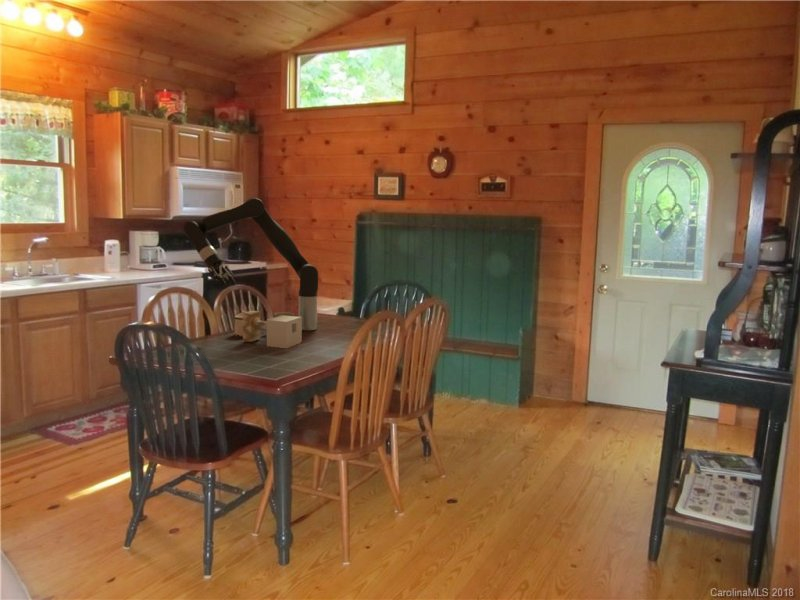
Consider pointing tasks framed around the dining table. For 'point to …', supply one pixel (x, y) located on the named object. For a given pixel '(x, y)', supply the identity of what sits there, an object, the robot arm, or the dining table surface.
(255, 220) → the robot arm
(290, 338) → the cardboard box
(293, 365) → the dining table surface
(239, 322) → the teacup with lid
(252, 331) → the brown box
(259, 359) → the dining table surface
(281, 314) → the coffee mug
